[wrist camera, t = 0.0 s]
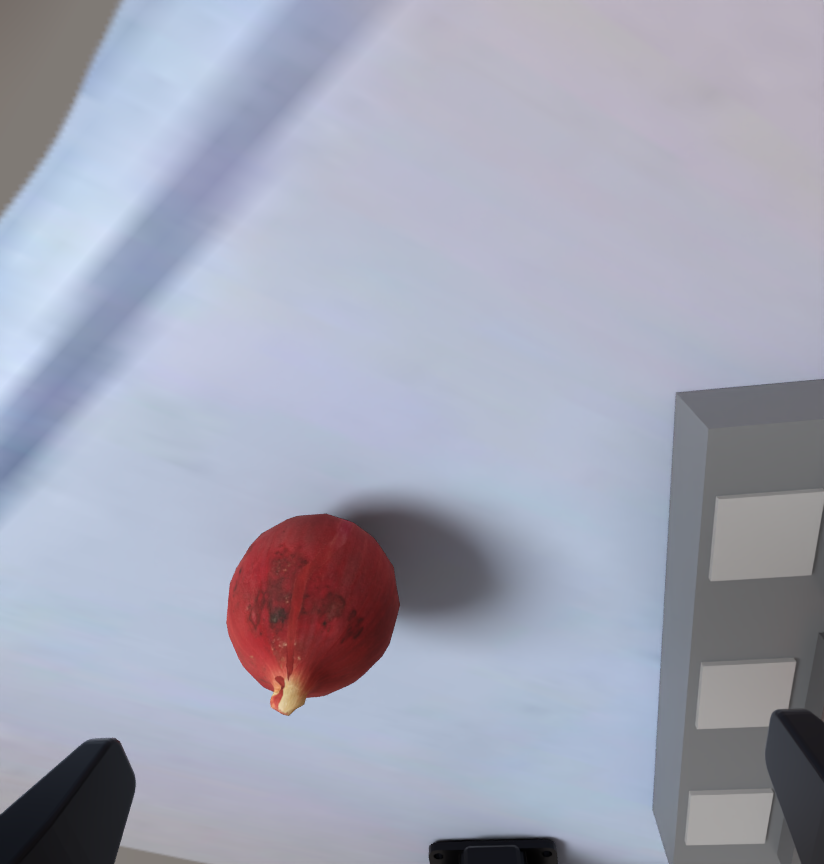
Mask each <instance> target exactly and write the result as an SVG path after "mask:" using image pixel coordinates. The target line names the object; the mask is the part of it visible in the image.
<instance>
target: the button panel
mask: <svg viewBox="0 0 824 864" xmlns="http://www.w3.org/2000/svg"><path fill="white" fill-rule="evenodd" d="M795 708H802V709H807V710H809V711H811V712H812V713H814V714H815V715H817V716H818V717H819V718H820V719H822V720H823V721H824V379H821V380H810V381H799V382H788V383H777V384H766V385H755V386H744V387H733V388H722V389H711V390H700V391H689V392H678V393H676V401H675V419H674V437H673V455H672V472H671V490H670V508H669V526H668V544H667V562H666V579H665V597H664V615H663V633H662V651H661V669H660V686H659V704H658V722H657V740H656V758H655V776H654V793H653V813H654V817H655V820H656V823H657V826H658V830H659V833H660V836H661V840H662V843H663V846H664V849H665V853H666V856H667V859H668V862H669V864H801V862H800V859H799V856H798V853H797V851H796V848H795V845H794V842H793V840H792V837H791V834H790V831H789V829H788V826H787V823H786V820H785V818H784V815H783V812H782V809H781V807H780V804H779V801H778V798H777V796H776V793H775V790H774V787H773V785H772V782H771V779H770V776H769V774H768V771H767V767H766V762H765V747H766V741H767V734H768V728H769V722H770V717H771V714H772V713H773V711H775V710H777V709H795Z"/></svg>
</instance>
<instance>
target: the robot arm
mask: <svg viewBox="0 0 824 864" xmlns="http://www.w3.org/2000/svg"><path fill="white" fill-rule="evenodd" d="M765 762H766V767H767V771H768V774H769V776H770V779H771V782H772V785H773V787H774V790H775V793H776V796H777V798H778V801H779V804H780V807H781V809H782V812H783V815H784V818H785V820H786V823H787V826H788V829H789V831H790V834H791V837H792V840H793V842H794V845H795V848H796V851H797V853H798V856H799V859H800V862H801V864H824V721H823V720H822V719H820V718H819V717H818V716H817V715H815V714H814V713H812V712H811V711H809V710H807V709H802V708H795V709H777V710H775V711H773V713H772V714H771V717H770V722H769V728H768V734H767V741H766V747H765ZM135 787H136V780H135V774H134V772H133V769H132V767H131V765H130V763H129V760H128V758H127V756H126V754H125V751H124V749H123V747H122V745H121V743H120V741H118V740H117V739H116V738H96V739H90V740H87V741H86V742H84V743H83V744H81V745H80V746H79V747H78V748H77V749H75V750H74V751H73V752H72V753H71V754H70V755H68V756H67V757H66V758H65V759H64V760H63V761H62V762H60V763H59V764H58V765H57V766H56V767H55V768H53V769H52V770H51V771H50V772H49V773H48V774H47V775H45V776H44V777H43V778H42V779H41V780H40V781H38V782H37V783H36V784H35V785H34V786H33V787H32V788H30V789H29V790H28V791H27V792H26V793H25V794H23V795H22V796H21V797H20V798H19V799H18V800H17V801H15V802H14V803H13V804H12V805H11V806H10V807H8V808H7V809H6V810H5V811H4V812H3V813H2V814H0V864H114V863H115V859H116V856H117V852H118V849H119V846H120V842H121V839H122V835H123V832H124V828H125V825H126V821H127V818H128V814H129V811H130V807H131V804H132V800H133V797H134V793H135ZM429 861H430V864H558V860H557V849H556V844H555V843H554V842H553V841H551V840H511V841H470V842H436V843H433V844H431V845H430V846H429Z"/></svg>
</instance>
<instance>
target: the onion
mask: <svg viewBox="0 0 824 864" xmlns="http://www.w3.org/2000/svg"><path fill="white" fill-rule="evenodd" d="M399 607H400V603H399V597H398V592H397V586H396V579H395V573H394V567H393V565H392V564H391V562H390V561H389V559H388V558H387V556H386V554H385V553H384V551H383V550H382V548H381V547H380V545H379V544H378V543H377V541H376V540H375V539H374V538H373V537H372V536H371V535H369V534H368V533H367V532H365V531H364V530H363V529H361V528H360V527H359V526H357V525H356V524H355V523H353V522H351V521H348V520H344V519H341V518H338V517H335V516H332V515H329V514H315V515H303V516H296V517H293V518H290V519H287V520H285V521H283V522H282V523H280V524H278V525H276V526H274V527H273V528H271V529H269V530H267V531H265V532H264V533H262V534H261V535H260V536H259V537H258V538H257V539H256V540H255V541H254V542H253V543H252V545H251V546H250V547H249V549H248V550H247V552H246V554H245V555H244V557H243V558H242V560H241V562H240V563H239V565H238V566H237V568H236V570H235V573H234V575H233V577H232V580H231V582H230V588H229V598H228V610H227V622H226V623H227V628H228V634H229V637H230V639H231V642H232V644H233V646H234V649H235V651H236V653H237V656H238V658H239V660H240V662H241V663H242V665H243V667H244V668H245V669H246V670H247V671H248V672H249V673H250V674H251V675H252V676H253V677H254V678H255V679H256V680H257V681H258V682H259V683H260V684H261V685H262V686H263V687H264V688H266V689H269V690H271V691H273V692H274V693H273V695H272V697H271V700H270V703H271V708H273V709H275V710H276V711H278V712H280V713H281V714H283V715H287V716H289V715H290V714H291V713H292V712H293V711H294V710H295V709H297V708H299V707H301V706H302V705H304V703H305V700H306V698H310V697H320V696H325V695H328V694H330V693H332V692H335V691H337V690H339V689H341V688H344V687H346V686H348V685H350V684H352V683H354V682H355V681H357V680H358V679H359V678H360V677H362V676H363V675H364V674H365V673H366V672H367V671H368V670H369V669H370V668H371V667H372V666H373V665H374V664H375V663H376V662H377V661H378V660H379V659H380V658H381V657H382V656H383V654H384V652H385V651H386V649H387V647H388V646H389V644H390V640H391V637H392V633H393V630H394V626H395V622H396V619H397V615H398V611H399Z"/></svg>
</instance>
